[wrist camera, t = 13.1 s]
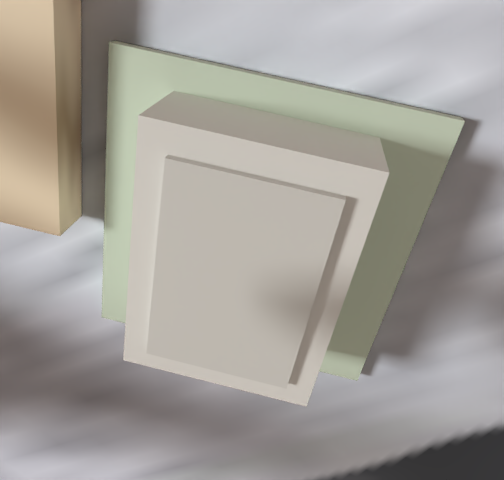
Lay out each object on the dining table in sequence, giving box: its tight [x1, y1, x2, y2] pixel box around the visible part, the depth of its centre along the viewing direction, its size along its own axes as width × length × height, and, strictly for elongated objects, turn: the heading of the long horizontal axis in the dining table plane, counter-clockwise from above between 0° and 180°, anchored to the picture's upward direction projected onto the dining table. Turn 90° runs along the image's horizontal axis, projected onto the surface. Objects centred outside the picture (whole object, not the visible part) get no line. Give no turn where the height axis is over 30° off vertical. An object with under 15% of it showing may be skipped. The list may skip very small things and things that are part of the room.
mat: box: [102, 41, 465, 381], centre depth 16 cm, size 10×10×1 cm
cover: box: [123, 91, 389, 407], centre depth 14 cm, size 8×6×3 cm
